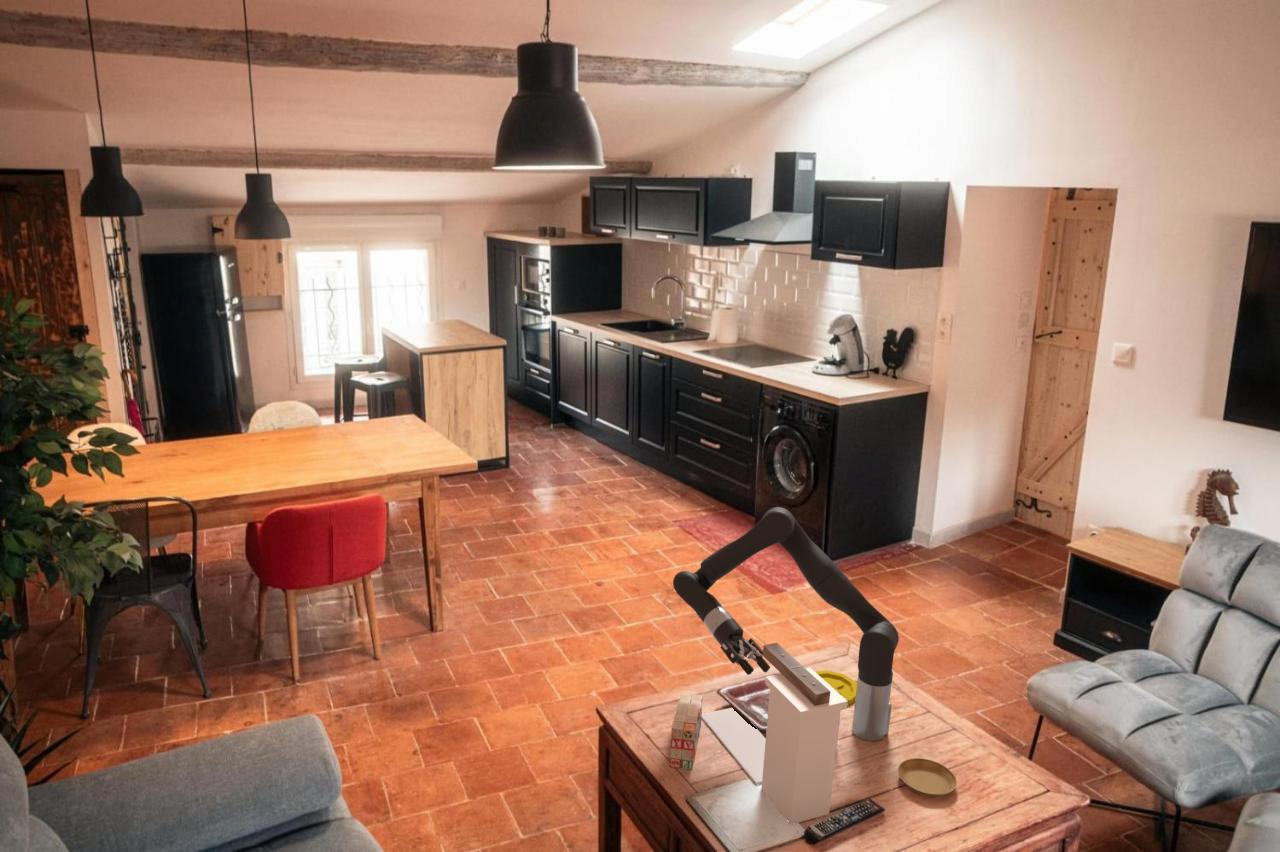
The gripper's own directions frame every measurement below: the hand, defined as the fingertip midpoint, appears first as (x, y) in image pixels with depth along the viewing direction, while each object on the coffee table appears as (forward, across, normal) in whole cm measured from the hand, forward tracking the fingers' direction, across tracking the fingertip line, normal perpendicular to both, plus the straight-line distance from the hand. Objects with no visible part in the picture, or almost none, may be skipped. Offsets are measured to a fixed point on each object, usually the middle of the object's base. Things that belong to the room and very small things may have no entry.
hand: (759, 671), depth 241 cm
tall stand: (+30, -5, +13) cm, 33 cm away
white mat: (+8, +5, +20) cm, 22 cm away
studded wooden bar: (+12, -13, -13) cm, 22 cm away
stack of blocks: (0, -6, +29) cm, 30 cm away
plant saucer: (+45, +24, -4) cm, 51 cm away
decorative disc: (+5, +44, +8) cm, 45 cm away
